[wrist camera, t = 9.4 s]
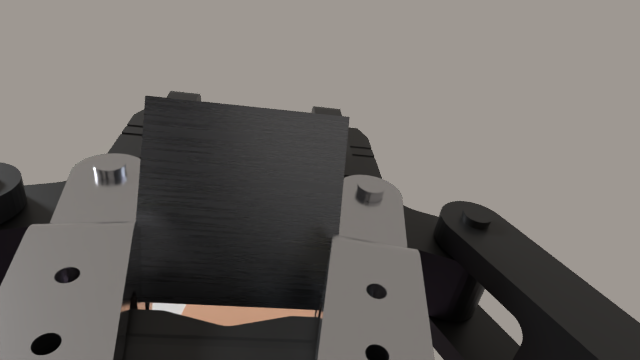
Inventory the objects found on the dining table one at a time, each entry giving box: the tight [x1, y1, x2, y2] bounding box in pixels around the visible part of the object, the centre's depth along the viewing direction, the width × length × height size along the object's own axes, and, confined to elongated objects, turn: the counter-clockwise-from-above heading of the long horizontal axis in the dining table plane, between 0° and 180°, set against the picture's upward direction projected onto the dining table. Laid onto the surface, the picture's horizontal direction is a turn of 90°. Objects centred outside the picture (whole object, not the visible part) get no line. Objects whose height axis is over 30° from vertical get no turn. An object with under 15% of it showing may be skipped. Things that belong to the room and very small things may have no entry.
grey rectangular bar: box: [136, 96, 349, 310], centre depth 17 cm, size 20×4×4 cm, turn 7°
